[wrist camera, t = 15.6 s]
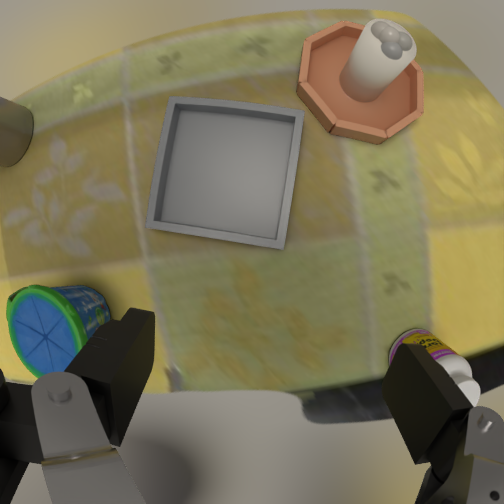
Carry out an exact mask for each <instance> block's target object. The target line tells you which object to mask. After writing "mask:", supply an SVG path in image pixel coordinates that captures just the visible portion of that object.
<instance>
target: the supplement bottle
mask: <svg viewBox="0 0 504 504" xmlns="http://www.w3.org/2000/svg"><path fill="white" fill-rule="evenodd" d="M402 343H409V344H422V345H423V346H424V347H425V348H426V350H427V351H428V352H429V353H430V355H431V356H432V357H433V358H434V360H435V361H436V362H438V363H439V364H440V365H442V366H443V367H444V369H445V370H446V371H447V372H448V374H449V377H452V379H453V380H454V381H455V384H457V385H458V387H459V388H460V389H461V390H462V392H463V393H464V394H465V396H466V397H467V398H468V400H469V401H470V402H471V404H472V405H473V406H474V407H475V406H476V405H477V402H478V400H479V397H480V387H479V385H478V383H477V382H476V381H475V380H474V379H472V372H471V368H470V365H469V364H468V362H467V361H466V360H465V359H464V358H463V357H461V356H460V355H459V354H457V353H456V352H455V351H454V350H452V349H451V348H450V347H448V346H447V345H446V344H444V343H443V342H442V341H440V340H439V339H438V338H437V337H435V336H434V335H433V334H431V333H430V332H428V331H426V330H424V329H412V330H409V331H407V332H405V333H404V334H402V335H401V336H400V337H399V338H398V339H397V340H396V341H395V343H394V344H393V346H392V348H391V350H390V354H389V366H390V364H391V362H392V359H393V357H394V354H395V352H396V350H397V348H398V346H399V345H400V344H402Z"/></svg>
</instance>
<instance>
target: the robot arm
mask: <svg viewBox="0 0 504 504" xmlns="http://www.w3.org/2000/svg"><path fill="white" fill-rule="evenodd" d="M32 131H33V118H32V115H31V112H30V111H29V110H28V109H27V108H26V107H24V106H21V105H19V104H16V103H14V102H11V101H9V100H7V99H4V98H2V97H0V166H3V167H9V166H12V165H14V164H15V163H16V162H18V161H19V160H20V158H21V157H22V156H23V155H24V153H25V151H26V149H27V147H28V145H29V143H30V140H31V136H32ZM154 346H155V314H154V312H151V311H146V310H141V309H136V308H129V310H128V311H127V312H126V314H125V315H124V316H123V318H122V319H121V320H120V321H118V320H113V319H112V320H110V321H108V322H106V323H104V324H102V325H101V326H99V327H98V329H97V330H96V331H95V332H94V334H93V335H92V337H90V339H89V340H88V341H87V342H86V345H84V346H83V347H82V349H81V350H80V351H79V352H78V354H77V355H76V356H75V357H74V359H73V360H72V361H71V363H70V364H69V365H68V366H67V368H66V369H65V370H64V372H51V373H48V374H45V375H43V376H41V377H40V378H38V379H37V380H36V381H35V383H34V384H33V385H25V384H17V383H10V382H6V381H5V378H4V375H3V372H2V370H1V369H0V504H10V503H11V501H12V499H13V496H14V494H15V492H16V490H17V487H18V485H19V483H20V481H21V479H22V477H23V475H24V473H25V471H26V468H27V466H28V464H29V462H31V463H37V464H42V470H43V473H44V477H45V480H46V484H47V487H48V491H49V494H50V497H51V500H52V503H53V504H146V502H145V501H144V499H143V498H142V495H141V494H140V492H139V491H138V488H137V487H136V485H135V483H134V481H133V479H132V478H131V476H130V474H129V472H128V470H127V468H126V466H125V464H124V462H123V460H122V458H121V456H120V455H119V453H118V451H117V450H116V448H112V447H111V445H110V444H112V445H115V446H119V447H120V445H121V443H122V440H123V438H124V436H125V433H126V431H127V428H128V426H129V423H130V421H131V419H132V416H133V414H134V411H135V409H136V406H137V404H138V402H139V399H140V397H141V394H142V392H143V390H144V387H145V385H146V383H147V380H148V378H149V376H150V373H151V371H152V367H153V362H154ZM382 395H383V398H384V400H385V402H386V404H387V406H388V408H389V410H390V412H391V414H392V416H393V418H394V420H395V422H396V424H397V427H398V429H399V431H400V433H401V435H402V437H403V439H404V441H405V444H406V446H407V448H408V450H409V452H410V455H411V457H412V459H413V461H414V463H415V465H416V464H422V463H427V462H430V463H431V466H430V467H429V468H428V470H427V471H426V473H425V476H424V479H423V482H422V485H421V488H420V490H419V493H418V496H417V498H416V501H415V504H504V422H503V419H502V418H501V416H500V415H499V414H498V413H496V412H495V411H494V410H492V409H490V408H487V407H483V406H477V407H474V406H473V405H472V404H471V402H470V401H469V400H468V398H467V397H466V396H465V394H464V393H463V392H462V390H461V389H460V388H459V387H458V385H457V384H455V381H454V380H453V379H452V377H449V374H448V372H447V371H446V370H445V369H444V367H443V366H442V365H440V364H439V363H438V362H436V361H435V360H434V358H433V357H432V356H431V355H430V353H429V352H428V351H427V350H426V348H425V347H424V346H423V345H422V344H409V343H402V344H400V345H399V346H398V348H397V350H396V352H395V354H394V357H393V359H392V362H391V364H390V366H389V368H388V371H387V373H386V375H385V377H384V380H383V383H382Z"/></svg>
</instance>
